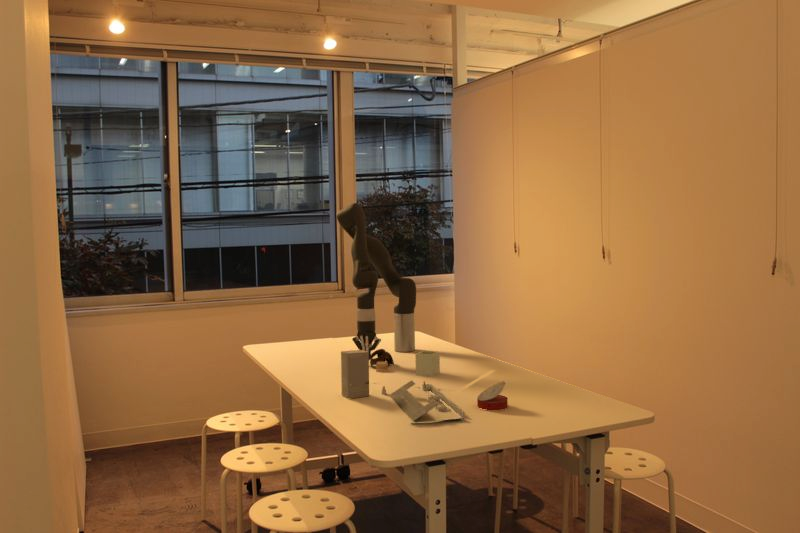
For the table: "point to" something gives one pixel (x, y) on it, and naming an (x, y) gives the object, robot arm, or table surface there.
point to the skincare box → (355, 373)
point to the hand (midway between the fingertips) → (367, 360)
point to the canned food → (493, 398)
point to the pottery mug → (381, 357)
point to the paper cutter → (416, 407)
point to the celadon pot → (427, 363)
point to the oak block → (381, 366)
